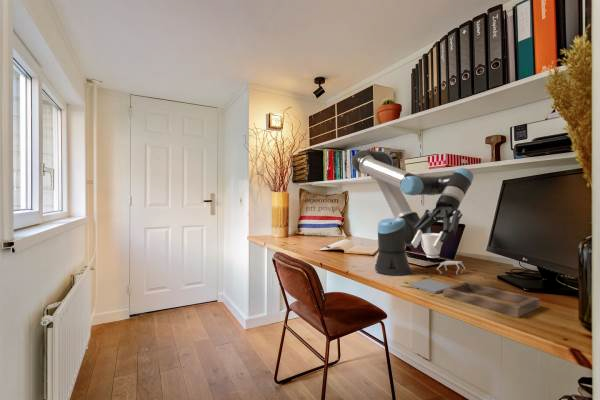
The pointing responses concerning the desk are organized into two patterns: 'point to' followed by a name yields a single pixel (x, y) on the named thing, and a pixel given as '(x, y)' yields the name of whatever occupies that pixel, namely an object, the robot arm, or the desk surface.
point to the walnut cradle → (522, 308)
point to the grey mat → (430, 285)
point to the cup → (430, 244)
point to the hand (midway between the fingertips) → (424, 246)
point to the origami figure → (451, 264)
